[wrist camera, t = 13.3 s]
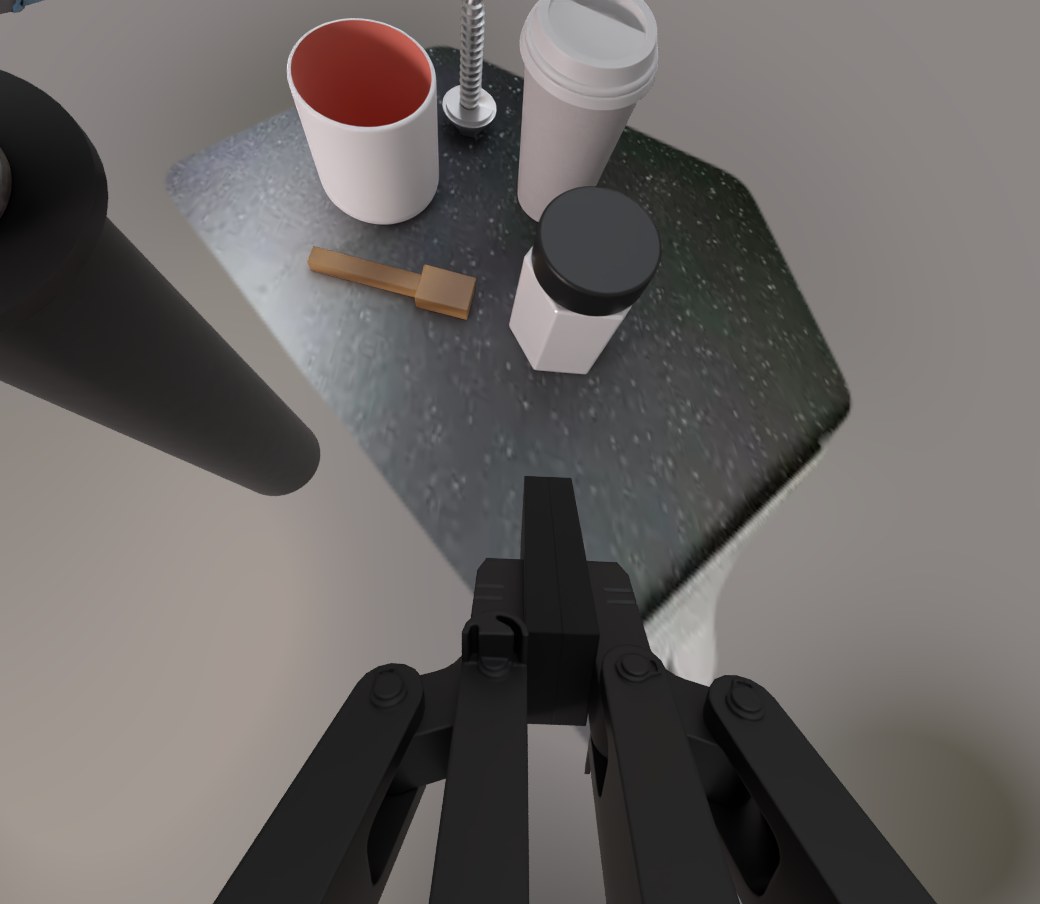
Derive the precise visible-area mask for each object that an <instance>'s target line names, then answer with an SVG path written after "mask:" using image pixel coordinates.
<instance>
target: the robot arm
mask: <svg viewBox="0 0 1040 904" xmlns="http://www.w3.org/2000/svg"><path fill="white" fill-rule="evenodd" d="M40 1H43V0H0V14H2V13H7V12H14V13H16V12H20V11H22V10H23V9H24V8H25V6H26V5H29V4H33V3H36V2H40ZM12 189H13V176H12V170H11V167H10V163H9V161H8V159H7V157H6V155H5V153H4V152H3V150H2V149H1V147H0V221H1V219H2V218H3V216H4V214H5V212H6V210H7V208H8V205H9V203H10V199H11V195H12ZM588 715H589V723H590V731H591V733H590V739H589V745H588V751H587V758H586V764H585V774H590V770H591V778H592V786H593V795H594V803H595V811H596V820H597V828H598V836H599V845H600V852H601V853H600V854H601V862H602V870H603V878H604V887H605V896H606V904H740V902H739V899H738V896H739V898H740V900H741V902H742V904H937V903H936V902H935V901H934V899H933V898H932V897H931V896H930V894H929V893H928V892H927V891H926V889H925V888H924V887H923V885H922V884H921V883H920V882H919V880H918V879H917V878H916V877H915V875H914V874H913V873H912V872H911V870H910V869H909V868H908V867H907V865H906V864H905V863H904V861H903V860H902V859H901V858H900V856H899V855H898V854H897V853H896V851H895V850H894V849H893V848H892V846H891V845H890V844H889V842H888V841H887V840H886V839H885V837H884V836H883V835H882V834H881V832H880V831H879V830H878V829H877V827H876V826H875V825H874V823H873V822H872V821H871V820H870V819H869V817H868V816H867V815H866V813H865V812H864V811H863V810H862V808H861V807H860V806H859V805H858V803H857V802H856V801H855V800H854V798H853V797H852V796H851V795H850V793H849V792H848V791H847V790H846V788H845V787H844V786H843V784H842V783H841V782H840V781H839V779H838V778H837V777H836V775H835V774H834V773H833V772H832V770H831V769H830V768H829V767H828V765H827V764H826V763H825V762H824V760H823V759H822V758H821V757H820V756H819V754H818V753H817V751H816V750H815V749H814V748H813V746H812V745H811V744H810V743H809V741H808V740H807V739H806V738H805V736H804V735H803V734H802V732H801V731H800V730H799V729H798V727H797V726H796V725H795V724H794V722H793V721H792V720H791V718H790V717H789V716H788V715H787V714H786V712H785V711H784V710H783V708H782V707H781V706H780V705H779V703H778V702H777V701H776V700H775V698H774V697H772V695H771V694H770V693H769V692H768V691H767V690H766V689H765V688H763V687H762V686H760V685H758V684H757V683H755V682H753V681H752V680H750V679H747V678H744V677H740V676H737V675H724V676H722V677H719V678H717V679H715V680H714V681H713V682H712V684H711V685H710V687H708V686H704V685H701V684H698V683H695V682H692V681H689V680H686V679H683V678H681V677H678V676H676V675H674V674H673V673H671V672H669V671H668V670H666V669H665V667H664V665H663V663H662V661H661V660H660V659H659V658H658V657H657V656H656V655H654V654H653V653H652V651H651V649H650V646H649V643H648V640H647V636H646V633H645V630H644V626H643V623H642V619H641V616H640V613H639V609H638V606H637V604H636V599H635V596H634V592H633V589H632V586H631V582H630V579H629V576H628V574H627V573H626V572H625V571H624V570H623V569H622V567H621V566H620V565H619V564H618V563H617V562H597V561H586V555H585V550H584V544H583V539H582V533H581V528H580V523H579V517H578V512H577V506H576V501H575V496H574V490H573V485H572V479H571V478H558V477H536V476H525V478H524V495H523V513H522V530H521V554H520V559H497V558H486V560H485V561H484V562H483V563H482V565H481V566H480V567H479V569H478V570H477V576H476V583H475V591H474V599H473V605H472V613H471V619H470V620H469V621H467V622H466V624H465V626H464V628H463V631H462V656H461V657H460V658H459V659H458V660H457V661H456V662H455V663H453V664H451V665H450V666H448V667H446V668H444V669H441V670H438V671H435V672H431V673H428V674H423V675H419V673H418V672H417V671H416V670H415V669H414V668H412V667H409V666H407V665H405V664H396V663H390V664H386V665H382V666H378V667H377V668H375V669H373V670H371V671H370V672H368V673H366V674H365V675H364V677H363V678H362V679H361V680H360V681H359V682H358V683H357V684H356V686H355V687H354V689H353V690H352V692H351V694H350V695H349V697H348V698H347V700H346V701H345V703H344V704H343V706H342V707H341V709H340V711H339V712H338V713H337V715H336V717H335V718H334V719H333V721H332V723H331V724H330V726H329V727H328V729H327V730H326V732H325V733H324V735H323V736H322V738H321V739H320V741H319V742H318V744H317V745H316V747H315V749H314V750H313V752H312V753H311V755H310V756H309V758H308V759H307V761H306V762H305V764H304V765H303V767H302V768H301V770H300V772H299V773H298V774H297V776H296V778H295V779H294V781H293V782H292V784H291V785H290V787H289V788H288V790H287V791H286V793H285V794H284V796H283V797H282V799H281V800H280V802H279V803H278V805H277V807H276V808H275V810H274V811H273V813H272V814H271V816H270V817H269V819H268V820H267V822H266V823H265V825H264V826H263V828H262V830H261V831H260V833H259V834H258V836H257V837H256V839H255V840H254V842H253V843H252V845H251V846H250V848H249V849H248V851H247V852H246V854H245V856H244V857H243V859H242V860H241V862H240V863H239V865H238V866H237V868H236V869H235V871H234V872H233V874H232V875H231V877H230V878H229V880H228V881H227V883H226V885H225V886H224V888H223V889H222V891H221V892H220V894H219V895H218V897H217V898H216V900H215V901H214V903H213V904H378V902H379V900H380V897H381V895H382V893H383V890H384V888H385V885H386V883H387V880H388V878H389V875H390V873H391V870H392V868H393V866H394V863H395V861H396V858H397V856H398V853H399V851H400V849H401V846H402V844H403V841H404V839H405V836H406V834H407V831H408V829H409V826H410V824H411V822H412V819H413V817H414V814H415V812H416V809H417V807H418V805H419V802H420V799H421V797H422V794H423V792H424V790H425V787H426V785H427V784H430V783H433V782H436V781H440V780H442V779H446V782H445V789H444V797H443V804H442V812H441V818H440V826H439V833H438V840H437V847H436V855H435V862H434V869H433V876H432V884H431V891H430V898H429V904H529V845H528V844H529V843H528V842H529V839H528V740H527V739H528V738H527V737H528V735H527V724H550V725H575V726H586V722H587V716H588ZM736 892H737V893H736ZM737 894H738V896H737Z"/></svg>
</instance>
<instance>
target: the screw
mask: <svg viewBox="0 0 1040 904" xmlns="http://www.w3.org/2000/svg"><path fill="white" fill-rule="evenodd" d="M462 4H463V5H464V6H463V7H462V8H461V13H462V17H461V22H462V25H461V27H460V29H461V31H462V33H461V35H460V37H461V39H462V40H461V42H460V46H461V49H460V54H461V57H460V61H461V64H460V69H461V71H460V76H461V77H460V83H461V84H460V85H459V86H456V87H454V88H452V89H450V90H449V91H448V92H447V93H446V95H445V96H444V99H443V112H444V114H445V116H446V118H447V119H448V120H449V122H451V123H452V124H453V125H454V126H456V128H457V130H458V132H459V134H460V135H464V136H468V137H473V138H475V137H476V136H477V135H478V134H479V133H480V132H481V131H482V130H483V129H484V128H487V127H488V126H489V125H491V124H492V122H493V121H494V119H495V116H496V104H495V101H494V100H493V98H492V97H491V95H489V94H488V93H487V92H486V91H485V90H483V89H482V88H481V81H482V77H481V75H482V66H483V65H482V61H483V55H482V54H483V45H484V40H483V38H484V29H485V25H484V22H485V14H484V13H485V6H484V4H483V2H482V0H462Z"/></svg>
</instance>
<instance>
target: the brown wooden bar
mask: <svg viewBox="0 0 1040 904" xmlns="http://www.w3.org/2000/svg"><path fill="white" fill-rule="evenodd" d="M307 262H308V265H309V267H310V269H311V270H312V271H315V272H319V273H323V274H327V275H331V276H334V277H338V278H342V279H346V280H350V281H354V282H357V283H361V284H365V285H369V286H373V287H377V288H380V289H384V290H388V291H392V292H396V293H400V294H403V295H407V296H411V297H415V304H416V307H419V308H423V309H427V310H430V311H434V312H438V313H442V314H446V315H450V316H454V317H457V318H461V319H465V320H467V318H468V314H469V311H470V307H471V303H472V300H473V296H474V292H475V288H476V278H474V277H470V276H467V275H463V274H459V273H455V272H452V271H448V270H444V269H440V268H437V267H433V266H429V265H424V268H423V271H422V274H417V273H413V272H410V271H406V270H402V269H398V268H395V267H391V266H387V265H383V264H379V263H376V262H372V261H368V260H364V259H361V258H357V257H353V256H349V255H345V254H342V253H338V252H334V251H330V250H326V249H323V248H319V247H315V246H313V248H312V251H311V254H310V256H309V259H308V261H307Z"/></svg>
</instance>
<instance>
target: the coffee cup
mask: <svg viewBox="0 0 1040 904" xmlns="http://www.w3.org/2000/svg"><path fill="white" fill-rule="evenodd" d="M657 33H658V32H657V25H656V21H655V18H654V16H653V14H652V12H651V10H650V8H649V7H648V6H647V4H646V3H645V2H644V1H643V0H539V1H538V2H537V4H536V5H535V6H534V7H533V9H532V10H531V12H530V14H529V15H528V17H527V19H526V21H525V24H524V27H523V29H522V32H521V36H520V52H521V56H522V59H523V62H524V64H525V77H524V95H523V112H522V128H521V144H520V160H519V176H518V200H519V203H520V205H521V207H522V209H523V210H524V211H525V212H526V214H527V215H529V216H530V217H531V218H532V219H534V220H535V221H537V222H539V220H540V217H541V215H542V213H543V211H544V209H545V208H546V206H547V205H548V204H549V203H550V202H551V201H552V200H553V199H554V198H555V197H557V196H558V195H560V194H561V193H564V192H566V191H568V190H571V189H574V188H577V187H584V186H596V185H597V183H598V181H599V179H600V176H601V174H602V172H603V170H604V168H605V166H606V164H607V162H608V160H609V158H610V156H611V154H612V152H613V150H614V148H615V146H616V144H617V142H618V140H619V138H620V136H621V134H622V132H623V130H624V127H625V125H626V123H627V121H628V119H629V117H630V115H631V113H632V111H633V109H634V107H635V105H636V103H637V101H639V100H640V99H642V98H643V97H644V96H645V95H646V94H647V93H648V92H649V90H650V89H651V87H652V86H653V84H654V82H655V78H656V74H657V68H658V44H657Z"/></svg>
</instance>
